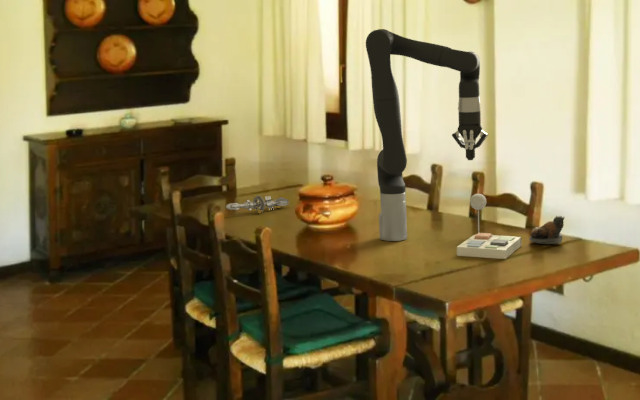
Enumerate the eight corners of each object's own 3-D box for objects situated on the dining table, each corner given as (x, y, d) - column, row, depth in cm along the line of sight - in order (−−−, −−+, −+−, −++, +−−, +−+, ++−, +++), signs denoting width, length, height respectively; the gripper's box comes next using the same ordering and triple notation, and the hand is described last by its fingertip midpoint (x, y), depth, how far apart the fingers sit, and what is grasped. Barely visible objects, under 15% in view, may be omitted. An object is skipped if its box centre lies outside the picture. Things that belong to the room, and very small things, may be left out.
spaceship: (218, 200, 379) (229, 195, 373) (281, 196, 403) (292, 191, 397) (222, 218, 377) (233, 213, 372) (285, 213, 401) (296, 208, 396)
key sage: (497, 246, 305) (497, 239, 305) (501, 243, 309) (501, 236, 309) (510, 247, 303) (510, 240, 303) (514, 244, 307) (514, 237, 307)
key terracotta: (474, 242, 309) (474, 235, 309) (478, 239, 313) (478, 232, 313) (487, 243, 307) (487, 236, 306) (491, 240, 311) (491, 233, 310)
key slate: (467, 250, 302) (467, 243, 302) (471, 247, 306) (471, 240, 306) (480, 251, 300) (480, 244, 300) (484, 248, 304) (484, 241, 304)
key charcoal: (490, 249, 298) (490, 242, 298) (494, 246, 302) (494, 239, 302) (504, 250, 296) (503, 243, 296) (507, 247, 300) (507, 240, 300)
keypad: (456, 255, 299) (456, 245, 298) (475, 242, 316) (475, 232, 315) (505, 259, 291) (505, 248, 290) (521, 245, 308) (521, 235, 308)
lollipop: (486, 236, 325) (486, 195, 322) (470, 236, 326) (469, 195, 323) (487, 232, 331) (486, 192, 328) (470, 232, 332) (470, 192, 329)
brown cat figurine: (526, 244, 309) (526, 215, 308) (534, 240, 315) (534, 212, 313) (560, 247, 303) (560, 218, 301) (567, 243, 308) (567, 214, 307)
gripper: (491, 109, 310) (492, 158, 313) (454, 109, 316) (455, 158, 319) (484, 111, 304) (485, 161, 307) (447, 111, 310) (448, 161, 313)
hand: (470, 159), depth 313 cm, fingers closed
